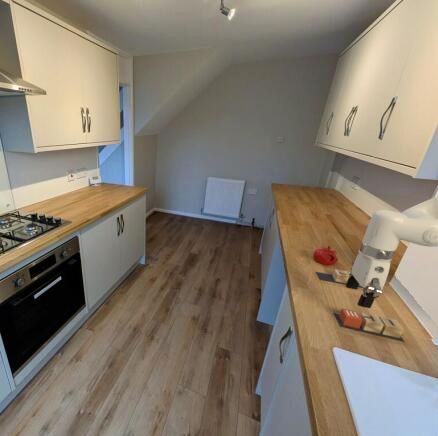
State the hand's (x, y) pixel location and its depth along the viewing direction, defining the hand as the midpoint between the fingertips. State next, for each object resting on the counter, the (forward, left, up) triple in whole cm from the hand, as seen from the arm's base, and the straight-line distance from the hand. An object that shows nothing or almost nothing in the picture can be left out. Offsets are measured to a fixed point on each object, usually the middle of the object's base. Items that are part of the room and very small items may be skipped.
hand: (357, 296), depth 78 cm
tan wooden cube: (-6, 0, -11) cm, 12 cm away
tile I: (-11, 0, -11) cm, 15 cm away
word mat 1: (-8, -29, -11) cm, 32 cm away
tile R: (-6, -29, -11) cm, 31 cm away
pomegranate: (-4, -45, -11) cm, 47 cm away
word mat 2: (-5, 0, -11) cm, 12 cm away
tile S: (0, 0, -11) cm, 11 cm away
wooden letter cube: (-11, -29, -11) cm, 33 cm away
